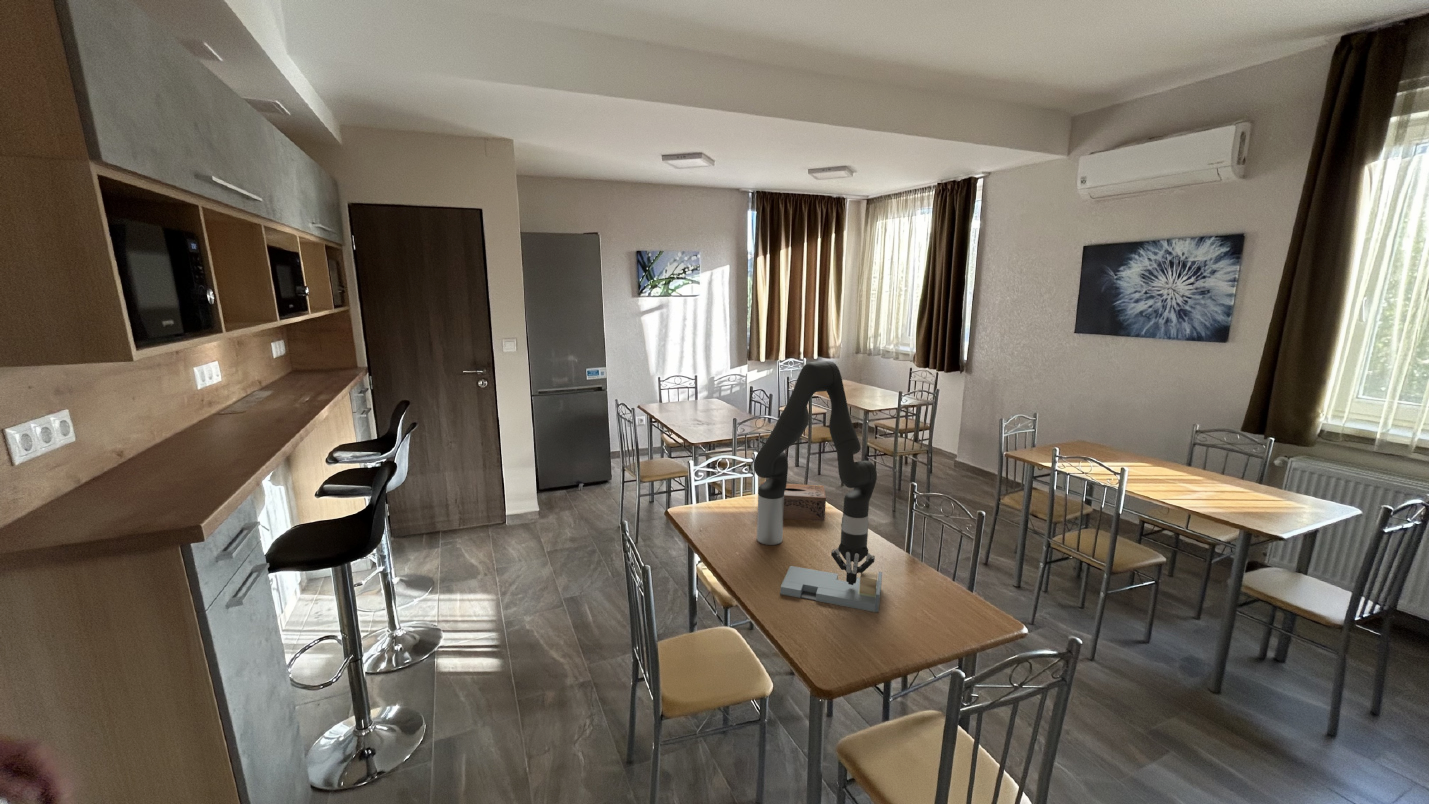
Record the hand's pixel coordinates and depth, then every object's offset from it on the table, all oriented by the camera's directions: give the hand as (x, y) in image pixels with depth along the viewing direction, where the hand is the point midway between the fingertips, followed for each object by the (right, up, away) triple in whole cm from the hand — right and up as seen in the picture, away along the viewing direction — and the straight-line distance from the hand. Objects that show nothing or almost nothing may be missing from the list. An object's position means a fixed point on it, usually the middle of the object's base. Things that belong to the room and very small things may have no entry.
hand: (851, 583), depth 167 cm
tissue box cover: (-9, +8, +64) cm, 65 cm away
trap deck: (-5, -3, +3) cm, 7 cm away
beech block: (+5, -2, -1) cm, 5 cm away
